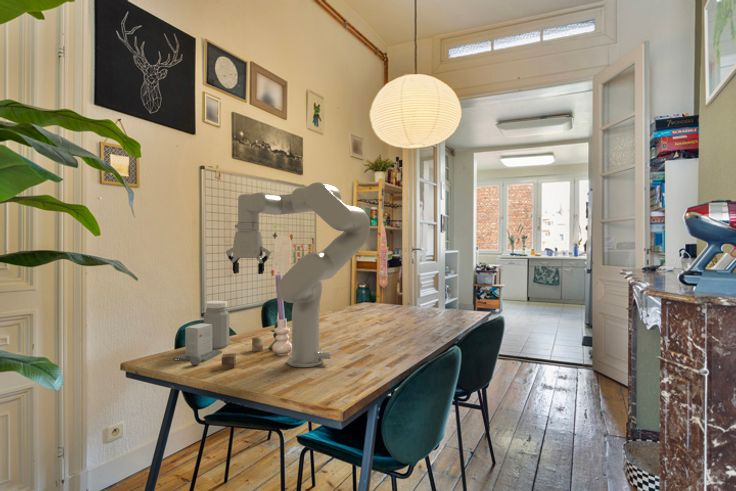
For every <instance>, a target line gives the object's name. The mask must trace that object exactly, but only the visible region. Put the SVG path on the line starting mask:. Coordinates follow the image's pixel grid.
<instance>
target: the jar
mask: <svg viewBox="0 0 736 491" xmlns="http://www.w3.org/2000/svg"><path fill="white" fill-rule="evenodd" d="M228 304H229V303H228V300H221V299H220V300H218V299H217V300H209V301H208V300H207V301H205V312H204V313H203V324H212V350H219V349H223V348H224V349H225V348H227V347H228V346H229V344H230V313H229V311H228Z"/></svg>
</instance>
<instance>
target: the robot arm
mask: <svg viewBox="0 0 736 491" xmlns="http://www.w3.org/2000/svg"><path fill="white" fill-rule="evenodd" d="M308 212H314V213H315V214H317V216H318V217H320V219H322V220H323V221H324V222H325V223H326V224H327V225H328V226H329V227H330V228H332V229H333V230H336V231H337V232H342V233H340V235H338V236H337V237H336V238H334V239H333V240H332V241H331V243H329V244H328V245H327V246H326V247H325V248H324V249H323V250H321V251H315V252H309V253H306V254H305V255H303V256H302V257H301V258H300V259H298V260H297V261H296V263H295V264H294V265H293V266H292V267H291V268H289V270H288V271H287V272H286V273H285V274H284V275H283V276H282V278H281V279H280V280H279V283H278V287H277V292H278V293H277V294H278V295H279V297H280V299H281V300H282V301H284V302H285V303H291V304H292V309H291V310H292V311H291V356H290V357H288V358H287V360H286V362H287V364H288V365H289V366H290V367H295V368H313V367H316V366H317V367H318V366H320V365H322V364H323V363H324V360H331V359H332V354H331V353H330V352H328V351H322V350H323V348H322V347H320V306H321V297H322V292H323V284H322V281H325V280H329V279H332V278H333V277H334V276H335V275H336V274H337V273H338V272H339V271H341V270H342V268H343V267H344V266H346V264H348V262H349V261H350V260H351V259H352V258H353V257H354V256H355V255H356V254H357V253H359V251H360V250H361V249H362V248H363V247H364V245H365V244H366V242H367V241H368V239H369V236H370V233H371V222H370V218H369V216H368V213H367V212H366V211H365V210H363V209H362V208H360V207H358V206H354V205H349V204H345V203H344V202H343V201H342V197H341V192H340V190H339V189H338V188H337V187H335V186H334V185H332V184H327V183H323V182H319V181H318V182H312V183H311V184H309V185H307V186H306V187H297V188H295V189H294V190H293V191H292V193H289V194H273V193H267V192H261V191H258V192H255V193H252V194H251V193H244V194H240V195H238V197H237V224H235V225H234V228H235V229H237V231H235V232H234V233H235V234H234V239H233V244H232V247H231V248H229V249H226V250H225V253H226V255H227V258H228V260H230V262H231V263H232V272H233V274H239V273H240V262H238V261H240V259H256V260H257V261H258V262H259V263H257V274H258V275H263V274H264V272H265V263H266V262H267V261H268V260H269V258H270V257H271V253H272V251H271V250H269V249H268V248H266V247H264V245H263V237H262V233H261V231H260V214H263V215H264V214H265V215H267V214H268V215H274V216H277V215H293V214H300V213H308ZM264 253H265V254H264ZM263 254H264V256H263Z"/></svg>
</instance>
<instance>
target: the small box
mask: <svg viewBox="0 0 736 491" xmlns="http://www.w3.org/2000/svg"><path fill="white" fill-rule="evenodd" d="M184 331H185V338H184V339H185V343H184V345H185V347H184V348H185V352H184V353H185V355H186V356H190V357H192V356H193V355H195V354H197V355H200V356H202V355H205V354H208V353H210V352H212V350H213V349H212V324H204V322H203V323H195V324H193V325H189V326H186V327H185V330H184Z"/></svg>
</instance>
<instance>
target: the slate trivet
mask: <svg viewBox="0 0 736 491" xmlns="http://www.w3.org/2000/svg"><path fill="white" fill-rule="evenodd" d="M222 353H223V350H219V349H212V352H210V353H208V354H205V355H202V356H201V361H205V362H207V361H209V360H211V359H213V358H215V357H216V356H218V355H220V354H222ZM190 358H191V357H190V356H186V355H185V352H183V353H181V354H179V355H177V356H175V357H173V359H179V360H178V361H180V360H190ZM173 359H172V360H173Z"/></svg>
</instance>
